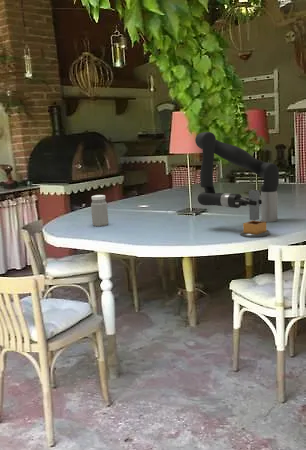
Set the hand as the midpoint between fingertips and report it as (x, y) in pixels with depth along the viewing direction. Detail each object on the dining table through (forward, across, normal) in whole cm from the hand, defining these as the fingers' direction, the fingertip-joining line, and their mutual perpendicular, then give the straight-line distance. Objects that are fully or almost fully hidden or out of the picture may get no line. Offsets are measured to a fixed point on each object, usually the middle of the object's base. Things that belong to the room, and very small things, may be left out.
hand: (258, 202), depth 269 cm
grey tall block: (-3, 0, +9) cm, 9 cm away
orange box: (-3, 0, +17) cm, 17 cm away
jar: (-99, -23, +18) cm, 103 cm away
